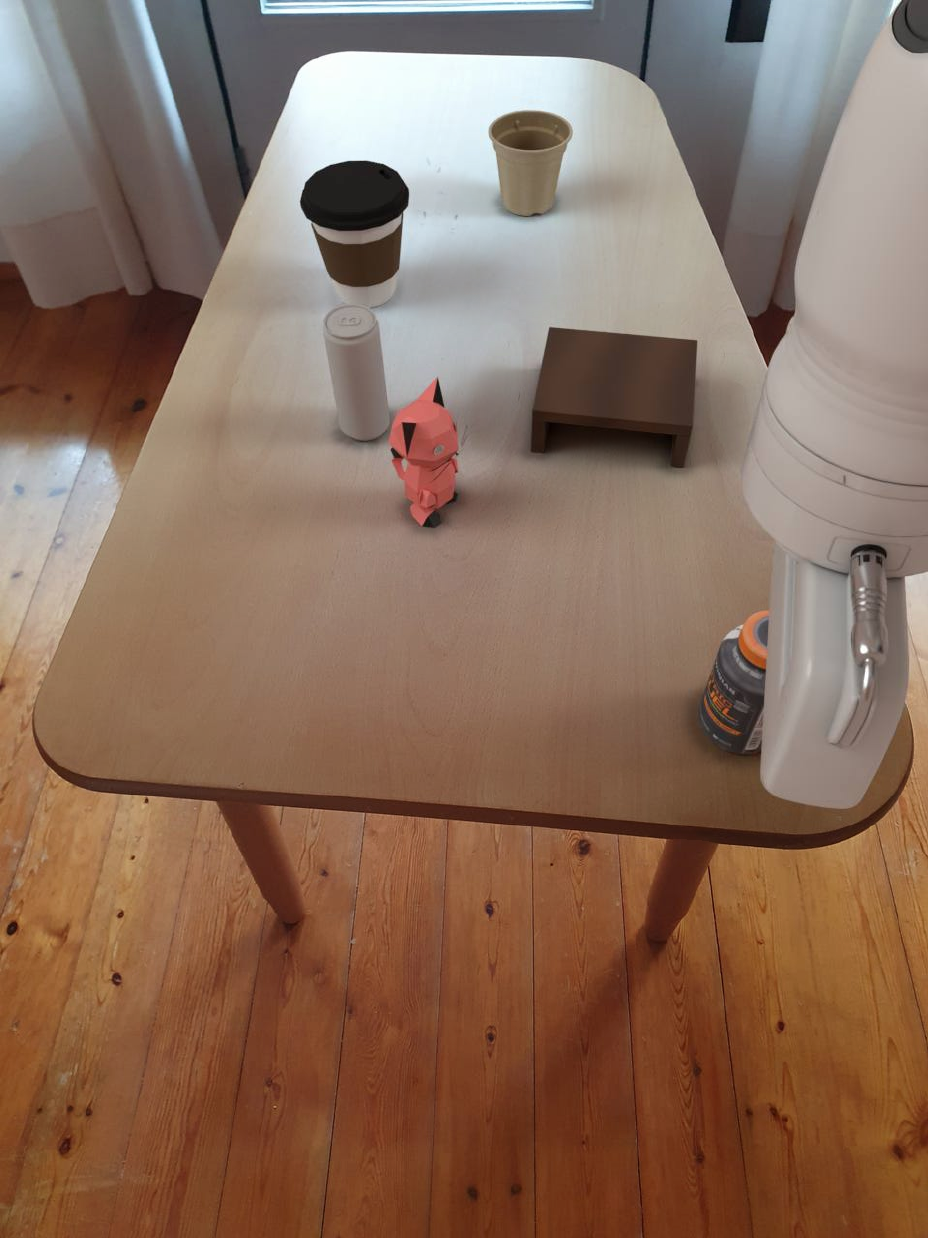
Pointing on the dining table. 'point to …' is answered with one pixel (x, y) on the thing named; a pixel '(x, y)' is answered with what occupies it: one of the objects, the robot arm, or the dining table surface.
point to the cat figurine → (426, 454)
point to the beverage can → (357, 371)
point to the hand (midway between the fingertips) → (784, 670)
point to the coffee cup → (358, 227)
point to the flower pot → (529, 158)
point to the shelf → (617, 385)
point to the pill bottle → (737, 689)
